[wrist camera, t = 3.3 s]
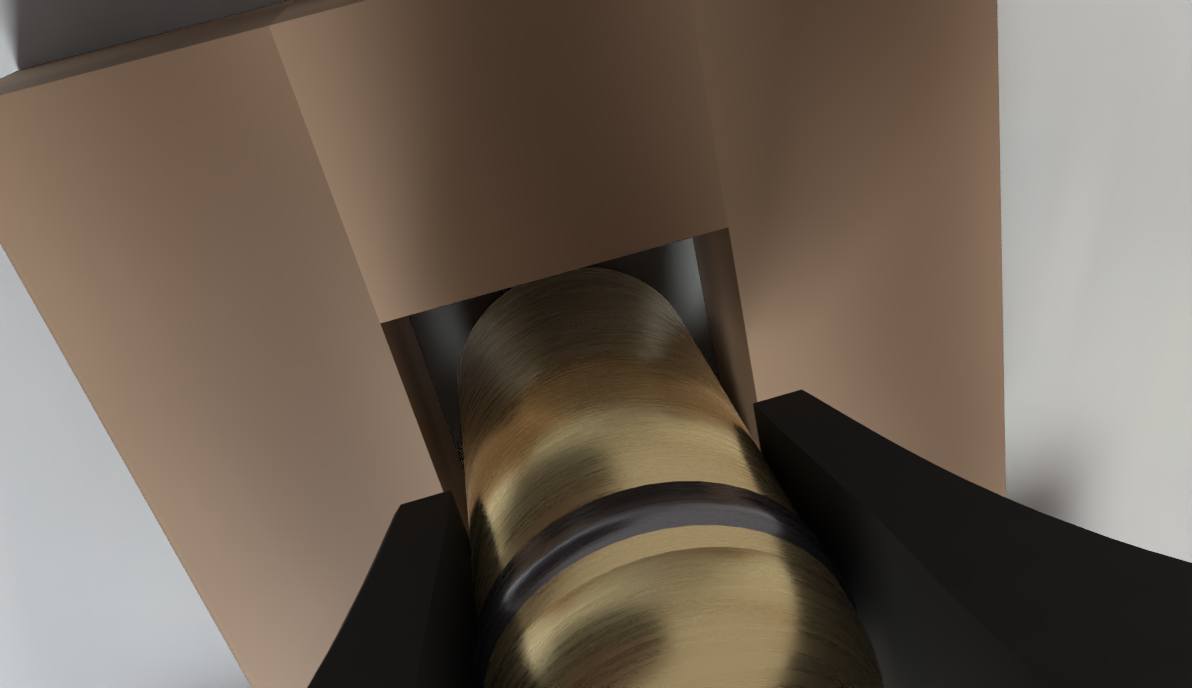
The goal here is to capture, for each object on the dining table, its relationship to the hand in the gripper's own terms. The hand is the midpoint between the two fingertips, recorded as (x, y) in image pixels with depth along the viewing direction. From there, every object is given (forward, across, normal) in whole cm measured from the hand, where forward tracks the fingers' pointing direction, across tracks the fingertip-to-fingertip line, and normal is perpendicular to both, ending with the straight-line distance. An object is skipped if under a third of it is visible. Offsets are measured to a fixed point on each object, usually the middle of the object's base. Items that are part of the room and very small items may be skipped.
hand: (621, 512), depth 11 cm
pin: (+3, 0, 0) cm, 3 cm away
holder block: (+5, 0, 0) cm, 5 cm away
